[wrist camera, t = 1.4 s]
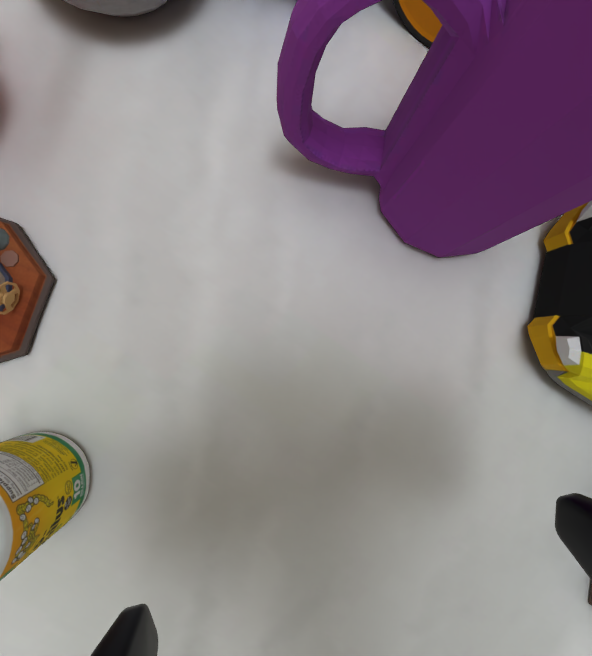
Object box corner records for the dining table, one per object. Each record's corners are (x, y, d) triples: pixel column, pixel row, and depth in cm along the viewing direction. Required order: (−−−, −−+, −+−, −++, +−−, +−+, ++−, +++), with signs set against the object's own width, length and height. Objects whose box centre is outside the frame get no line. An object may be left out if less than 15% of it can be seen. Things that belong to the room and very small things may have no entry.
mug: (504, 271, 23) (936, 123, 8) (263, 233, 22) (260, -17, 7) (515, 135, 24) (932, -227, 9) (282, 92, 23) (317, -408, 8)
